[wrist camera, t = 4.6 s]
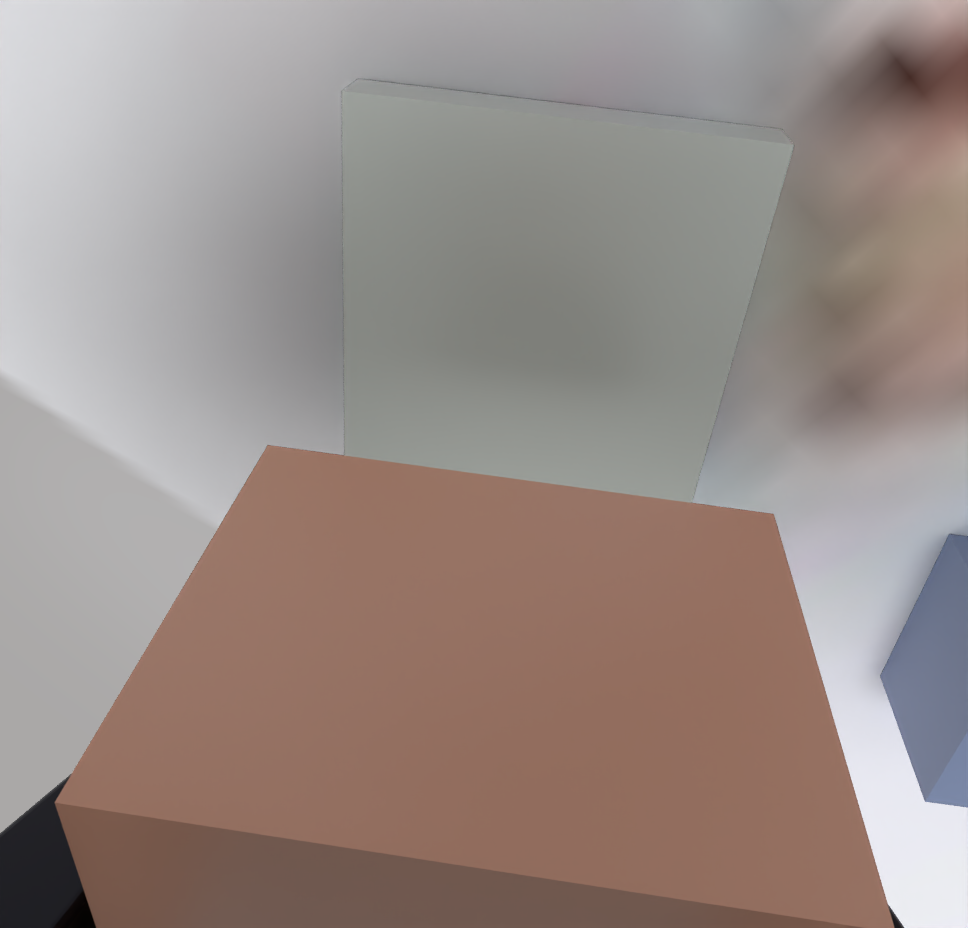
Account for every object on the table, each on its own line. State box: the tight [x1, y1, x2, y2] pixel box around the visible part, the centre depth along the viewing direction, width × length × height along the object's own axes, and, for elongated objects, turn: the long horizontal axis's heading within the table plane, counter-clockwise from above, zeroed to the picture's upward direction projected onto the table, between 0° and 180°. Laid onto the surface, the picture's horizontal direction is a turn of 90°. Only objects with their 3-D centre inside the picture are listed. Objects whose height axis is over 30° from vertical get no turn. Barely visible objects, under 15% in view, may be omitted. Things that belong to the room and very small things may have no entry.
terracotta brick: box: [55, 445, 894, 928], centre depth 8 cm, size 5×5×4 cm
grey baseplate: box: [342, 79, 794, 503], centre depth 18 cm, size 8×8×1 cm
